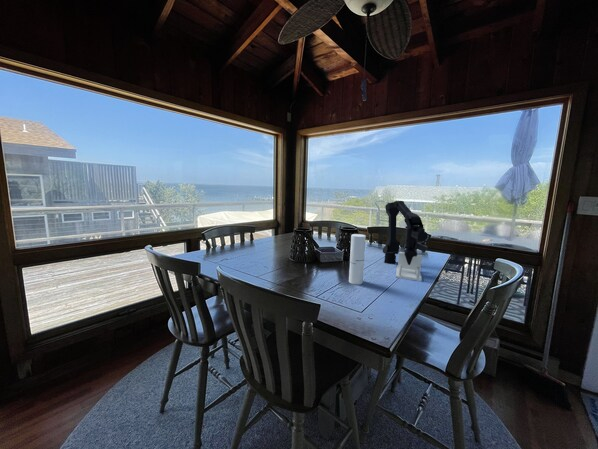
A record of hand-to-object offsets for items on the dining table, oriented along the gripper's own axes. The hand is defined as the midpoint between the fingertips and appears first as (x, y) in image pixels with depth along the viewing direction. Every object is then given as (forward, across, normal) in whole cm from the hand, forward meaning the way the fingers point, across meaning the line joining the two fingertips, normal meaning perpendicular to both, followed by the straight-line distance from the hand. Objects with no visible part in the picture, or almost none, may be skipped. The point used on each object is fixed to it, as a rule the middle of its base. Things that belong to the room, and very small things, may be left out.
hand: (408, 264), depth 146 cm
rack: (+6, 0, 0) cm, 6 cm away
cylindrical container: (+6, -25, +26) cm, 37 cm away
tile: (+3, 0, 0) cm, 3 cm away
